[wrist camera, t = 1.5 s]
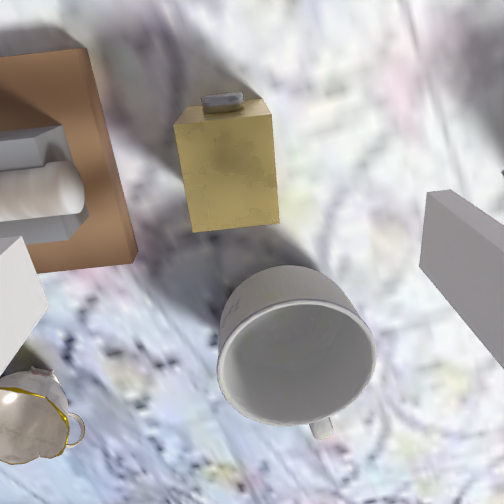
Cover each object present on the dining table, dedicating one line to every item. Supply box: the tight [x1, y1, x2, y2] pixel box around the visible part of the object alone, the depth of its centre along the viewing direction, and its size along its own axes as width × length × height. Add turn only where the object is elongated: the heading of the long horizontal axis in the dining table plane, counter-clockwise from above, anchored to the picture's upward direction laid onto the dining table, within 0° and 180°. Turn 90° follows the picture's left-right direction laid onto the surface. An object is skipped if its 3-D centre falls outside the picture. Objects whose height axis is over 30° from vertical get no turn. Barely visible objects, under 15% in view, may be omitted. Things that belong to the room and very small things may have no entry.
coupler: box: [173, 92, 280, 233], centre depth 25 cm, size 5×8×7 cm, turn 6°
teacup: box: [217, 265, 377, 440], centre depth 31 cm, size 14×11×8 cm
